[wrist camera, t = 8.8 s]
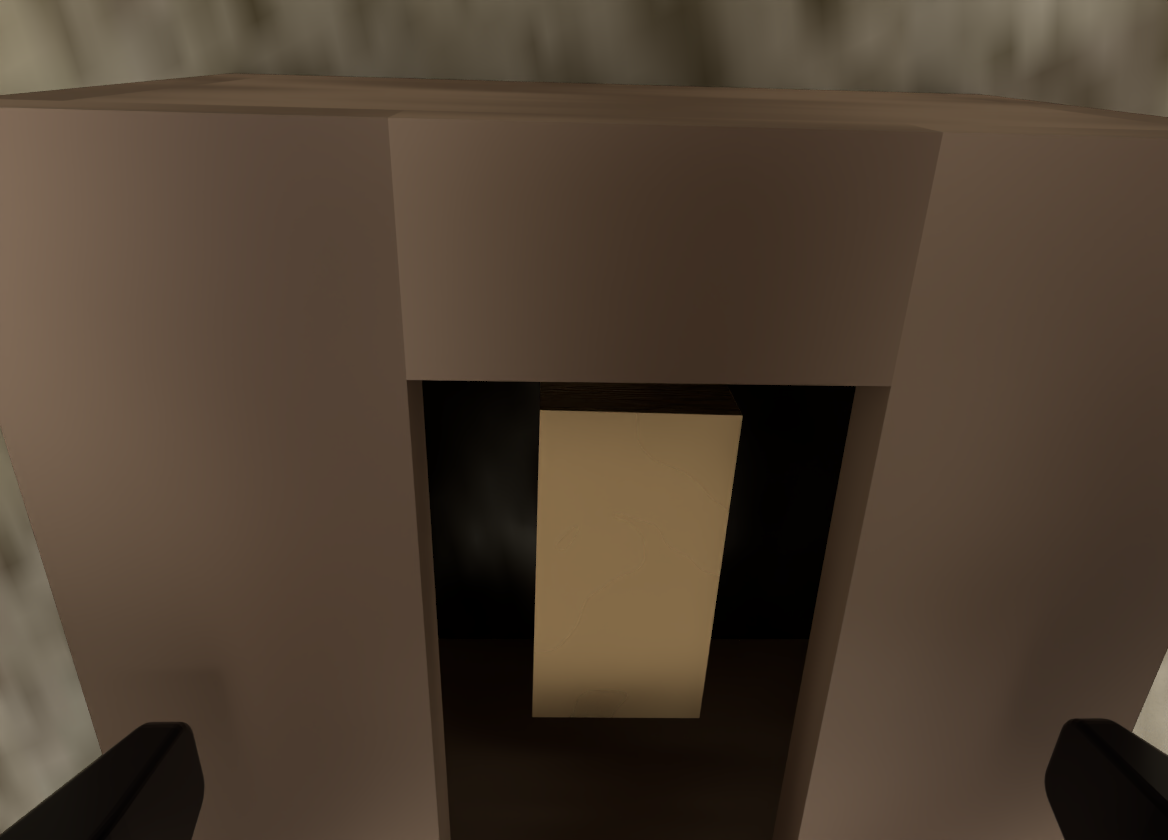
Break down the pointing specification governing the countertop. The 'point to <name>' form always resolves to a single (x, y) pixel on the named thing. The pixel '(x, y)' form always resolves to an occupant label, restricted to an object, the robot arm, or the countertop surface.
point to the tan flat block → (629, 545)
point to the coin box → (587, 354)
